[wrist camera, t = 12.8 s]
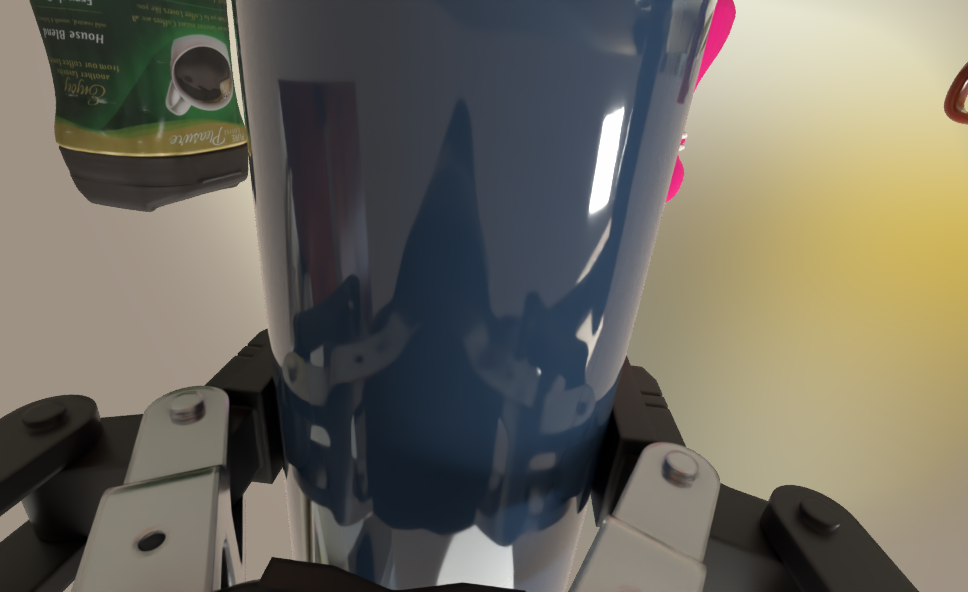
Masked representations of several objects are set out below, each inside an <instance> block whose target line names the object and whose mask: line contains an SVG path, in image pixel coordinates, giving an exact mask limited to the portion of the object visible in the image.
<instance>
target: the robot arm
mask: <svg viewBox="0 0 968 592" xmlns="http://www.w3.org/2000/svg"><path fill="white" fill-rule="evenodd" d="M667 407H668V405H667V403H666V401H665V399H664V397H662V392H661V390H660V388H659V386H658V383H657V381H656V380H655V379H654V378H653V377H652V376H651V375H650V374H649V373H648V372H647V371H646V370H645V369H644V368H642V367H638V366H631V365H630V363H629V360H628V358H627V355H626V357H625V361H624V365H623V369H622V373H621V377H620V381H619V385H618V389H617V392H616V396H615V400H614V404H613V408H612V412H611V416H610V420H609V424H608V427H607V431H606V435H605V439H604V443H603V447H602V451H601V455H600V458H599V462H598V466H597V470H596V474H595V478H594V482H593V486H592V490H591V499H592V505H593V511H594V517H595V523H596V526H597V527H600V529H599V531H598V533H597V535H596V537H595V539H594V541H593V543H592V545H591V547H590V549H589V551H588V553H587V555H586V557H585V559H584V561H583V563H582V565H581V567H580V569H579V572H578V573H577V575H576V577H575V579H574V581H573V584H572V586H571V587H570V590H569V592H919V591H918V590H917V589H916V588H915V587H914V586H913V584H912V583H911V582H910V581H909V580H908V579H907V577H906V576H905V575H904V574H903V573H902V572H901V570H899V568H898V567H897V566H896V565H895V564H894V562H893V561H892V560H891V559H890V558H889V557H888V555H887V554H886V553H885V552H884V551H883V550H882V549H881V547H880V546H879V545H878V544H877V543H876V542H875V540H874V539H873V538H872V537H871V536H870V535H869V534H868V532H867V531H866V530H865V529H864V528H863V527H862V525H860V524H859V522H858V521H857V520H856V519H855V518H854V517H853V516H852V514H850V513H849V512H848V511H847V510H846V509H845V508H844V507H842V506H841V505H840V504H838V503H836V502H835V501H834V500H832V499H830V498H829V497H827V496H825V495H823V494H821V493H819V492H817V491H814V490H811V489H808V488H805V487H801V486H795V485H784V486H780V487H778V488H776V489H775V490H774V491H773V493H772V494H771V496H770V499H769V501H766V500H763V499H760V498H757V497H755V496H752V495H749V494H746V493H743V492H741V491H738V490H735V489H733V488H730V487H728V486H725V485H723V484H721V483H720V478H719V475H718V473H717V471H716V470H715V468H714V467H713V466H712V465H711V464H710V463H709V462H708V461H707V460H706V459H705V458H704V457H702V456H701V455H700V454H698V453H696V452H695V451H693V450H691V449H689V448H687V447H686V446H685V443H684V441H683V439H682V437H681V434H680V432H679V430H678V428H677V426H676V423H675V421H674V419H673V417H672V414H671V412H670V410H669V409H668V408H667ZM282 467H283V463H282V454H281V445H280V436H279V427H278V418H277V409H276V400H275V391H274V382H273V373H272V363H271V354H270V345H269V336H268V328H267V329H265V330H263V331H261V332H260V333H259V334H257V335H256V337H254V338H253V339H252V340H251V341H250V342H249V343H248V346H245V347H244V348H243V349H242V350H241V351H240V352H239V353H238V356H235V357H234V358H233V359H231V360H230V361H229V362H228V363H227V364H226V365H225V366H224V367H223V368H222V369H221V370H220V371H219V372H218V373H217V374H216V375H215V376H214V377H213V378H212V379H211V380H210V381H209V382H208V383H207V384H206V385H205V386H192V387H186V388H182V389H179V390H175V391H173V392H170V393H167V394H165V395H163V396H162V397H160V398H158V399H156V400H155V401H154V402H152V403H151V404H150V405H149V406H148V407H147V409H146V410H145V412H144V414H140V415H127V416H116V417H105V418H100V415H99V412H98V408H97V405H96V403H95V401H94V400H93V399H91V398H89V397H86V396H82V395H61V396H55V397H50V398H45V399H42V400H39V401H35V402H32V403H30V404H28V405H25V406H23V407H20V408H19V409H16V410H15V411H13V412H11V413H9V414H7V415H6V416H4V417H2V418H1V419H0V516H1V515H3V514H4V513H5V512H7V511H8V510H9V509H11V508H12V507H13V506H14V505H16V504H17V503H19V502H20V501H22V503H23V506H24V508H25V510H26V513H27V515H28V517H29V520H28V521H27V522H26V523H24V524H23V525H22V526H20V527H19V528H18V529H17V530H15V531H14V532H13V533H12V534H10V535H9V536H8V537H7V538H5V539H4V540H3V541H2V542H0V592H63V591H64V590H65V589H66V588H67V587H68V586H69V585H70V584H71V583H72V582H73V581H74V580H75V581H74V584H73V587H72V590H71V592H526V591H525V590H518V589H510V588H502V587H495V586H487V585H480V584H472V583H464V582H461V583H453V584H445V585H437V586H429V587H421V588H413V589H405V590H392V589H388V588H386V587H383V586H381V585H379V584H376V583H374V582H372V581H369V580H367V579H365V578H362V577H360V576H358V575H355V574H353V573H351V572H348V571H346V570H344V569H341V568H339V567H337V566H334V565H328V564H320V563H313V562H305V561H297V560H290V559H282V558H274V557H272V558H271V560H270V562H269V564H268V566H267V568H266V569H265V571H264V573H263V575H262V577H261V579H258V580H252V581H247V582H246V518H245V517H246V515H245V514H246V508H245V507H246V504H245V497H244V492H245V491H246V489H247V488H248V486H249V485H250V483H251V482H260V483H268V484H272V483H273V482H274V480H275V479H276V477H277V475H278V473H279V472H280V470H281V469H282Z"/></svg>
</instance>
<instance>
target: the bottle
mask: <svg viewBox="0 0 968 592" xmlns="http://www.w3.org/2000/svg"><path fill="white" fill-rule="evenodd" d="M231 1H232V10H233V19H234V27H235V37H236V46H237V55H238V64H239V73H240V82H241V91H242V100H243V110H244V119H245V128H246V137H247V146H248V155H249V164H250V173H251V181H252V191H253V199H254V209H255V218H256V227H257V236H258V246H259V254H260V263H261V272H262V282H263V291H264V300H265V309H266V318H267V327H268V336H269V345H270V354H271V363H272V373H273V382H274V391H275V400H276V409H277V418H278V427H279V436H280V445H281V454H282V463H283V472H284V480H285V490H286V500H287V508H288V518H289V527H290V536H291V545H292V553H293V560H297V561H305V562H313V563H320V564H328V565H334V566H337V567H339V568H341V569H344V570H346V571H348V572H351V573H353V574H355V575H358V576H360V577H362V578H365V579H367V580H369V581H372V582H374V583H376V584H379V585H381V586H383V587H386V588H388V589H392V590H405V589H413V588H421V587H429V586H437V585H445V584H453V583H461V582H464V583H472V584H480V585H487V586H495V587H502V588H510V589H518V590H525V591H526V592H565V590H566V587H567V583H568V579H569V575H570V571H571V567H572V563H573V560H574V556H575V552H576V548H577V544H578V540H579V536H580V532H581V528H582V525H583V521H584V517H585V513H586V509H587V505H588V501H589V497H590V493H591V490H592V486H593V482H594V478H595V474H596V470H597V466H598V462H599V458H600V455H601V451H602V447H603V443H604V439H605V435H606V431H607V427H608V424H609V420H610V416H611V412H612V408H613V404H614V400H615V396H616V392H617V389H618V385H619V381H620V377H621V373H622V369H623V365H624V361H625V357H626V354H627V350H628V345H629V342H630V338H631V334H632V330H633V326H634V322H635V319H636V315H637V311H638V307H639V303H640V299H641V295H642V291H643V287H644V283H645V280H646V276H647V272H648V268H649V264H650V260H651V256H652V253H653V249H654V244H655V241H656V237H657V233H658V229H659V225H660V221H661V218H662V214H663V209H664V206H665V202H666V198H667V194H668V190H669V186H670V183H671V179H672V175H673V171H674V167H675V163H676V159H677V155H678V151H679V148H680V144H681V140H682V136H683V132H684V128H685V124H686V120H687V116H688V112H689V108H690V105H691V100H692V97H693V93H694V89H695V85H696V81H697V78H698V74H699V70H700V66H701V62H702V58H703V54H704V50H705V47H706V43H707V39H708V35H709V31H710V27H711V23H712V19H713V15H714V12H715V8H716V4H717V0H231Z"/></svg>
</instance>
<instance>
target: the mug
mask: <svg viewBox="0 0 968 592" xmlns="http://www.w3.org/2000/svg"><path fill="white" fill-rule="evenodd" d="M967 95H968V63H966V64H965V66H964V67H963V68H962V69H961V71H960V72H959V74H958V75H957V76H956V78H955V79H954V81H953V83H952V85H951V86H950V89H949V91H948V93H947V95H946V98H945V102H944V111H945V113H946V115H947V116H948V117H949V118H950V119H952V120H953V121H955V122H958V123H962V124H968V112H967V111H966V110H965V109H964V102H965V99H966V97H967Z"/></svg>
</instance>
